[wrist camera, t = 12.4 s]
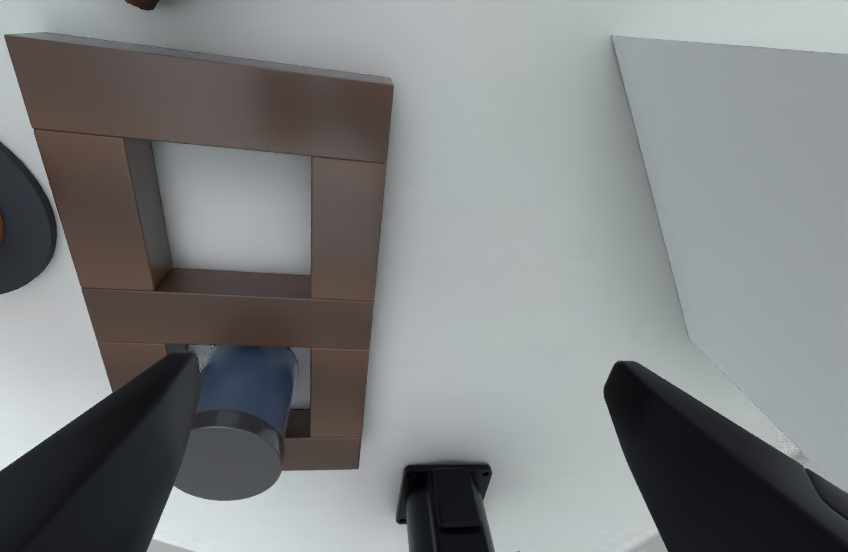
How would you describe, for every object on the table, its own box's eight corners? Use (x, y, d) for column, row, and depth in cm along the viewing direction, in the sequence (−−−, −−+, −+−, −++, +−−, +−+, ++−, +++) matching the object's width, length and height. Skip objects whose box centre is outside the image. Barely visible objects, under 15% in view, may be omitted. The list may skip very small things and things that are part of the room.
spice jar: (300, 399, 27) (283, 499, 21) (210, 399, 26) (168, 503, 20) (299, 333, 24) (280, 426, 19) (199, 329, 23) (148, 426, 18)
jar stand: (358, 441, 29) (358, 470, 28) (152, 442, 27) (136, 474, 25) (390, 78, 18) (393, 85, 16) (45, 32, 16) (3, 34, 14)
